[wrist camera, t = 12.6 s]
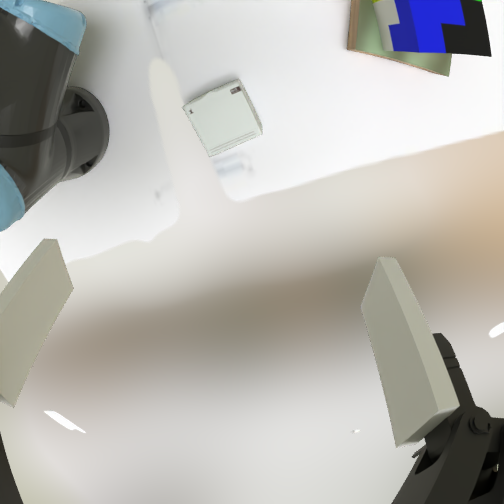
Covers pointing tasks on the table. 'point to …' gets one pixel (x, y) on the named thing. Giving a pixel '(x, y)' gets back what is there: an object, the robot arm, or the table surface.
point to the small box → (224, 118)
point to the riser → (369, 41)
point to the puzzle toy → (433, 26)
